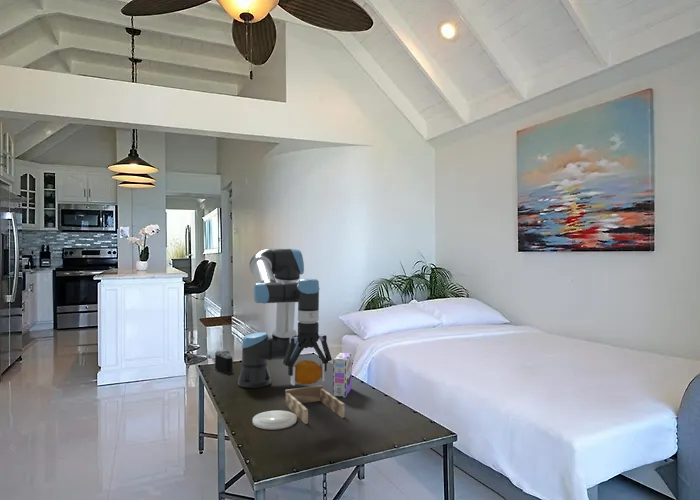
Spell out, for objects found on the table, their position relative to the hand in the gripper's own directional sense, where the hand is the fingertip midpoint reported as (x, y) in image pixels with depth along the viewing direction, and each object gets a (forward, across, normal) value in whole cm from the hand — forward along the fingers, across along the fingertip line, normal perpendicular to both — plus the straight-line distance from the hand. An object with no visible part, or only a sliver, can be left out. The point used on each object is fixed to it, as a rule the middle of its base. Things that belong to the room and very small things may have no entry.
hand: (307, 382), depth 166 cm
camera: (+17, -10, +91) cm, 93 cm away
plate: (+15, -10, +7) cm, 19 cm away
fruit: (+1, 0, +1) cm, 1 cm away
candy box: (+16, +28, +27) cm, 42 cm away
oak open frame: (+15, +7, +11) cm, 20 cm away
